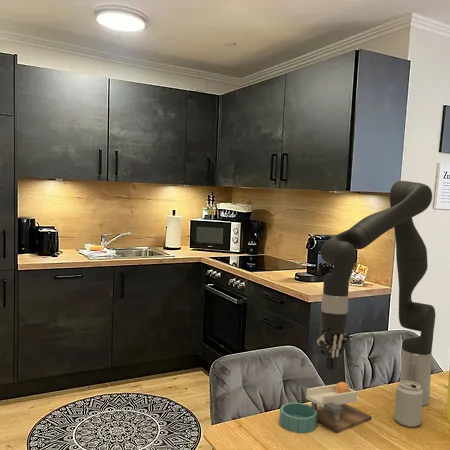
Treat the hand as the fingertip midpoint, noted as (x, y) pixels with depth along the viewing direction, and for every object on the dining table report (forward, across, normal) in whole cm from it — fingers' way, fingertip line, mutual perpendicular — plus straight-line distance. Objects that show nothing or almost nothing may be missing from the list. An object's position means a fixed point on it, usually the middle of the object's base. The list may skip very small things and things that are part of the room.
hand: (331, 369), depth 133 cm
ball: (+10, -12, -5) cm, 16 cm away
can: (+18, -24, +10) cm, 32 cm away
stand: (+18, -8, -4) cm, 20 cm away
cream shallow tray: (+12, -7, -3) cm, 14 cm away
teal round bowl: (+18, +5, -7) cm, 20 cm away
